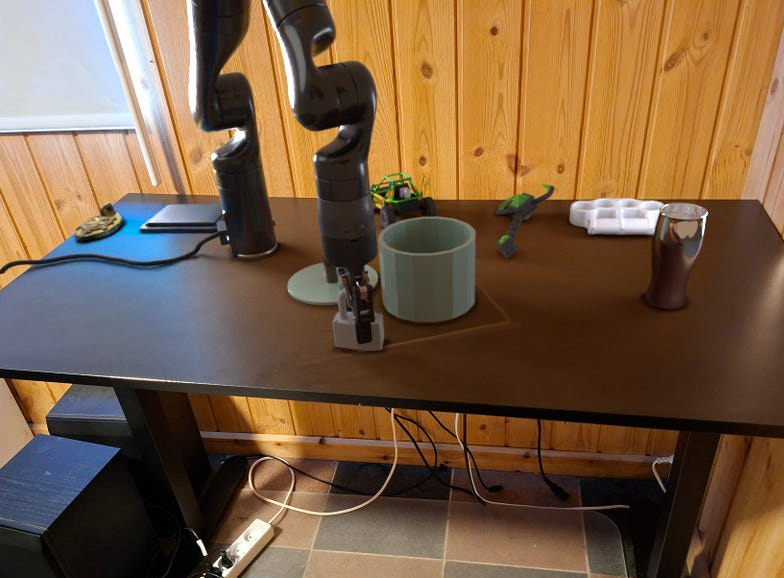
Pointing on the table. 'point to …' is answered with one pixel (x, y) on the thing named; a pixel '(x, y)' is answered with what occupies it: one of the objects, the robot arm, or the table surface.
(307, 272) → the pot lid
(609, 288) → the table surface
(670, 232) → the beer glass
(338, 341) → the padlock
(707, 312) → the table surface
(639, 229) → the white flat holed piece
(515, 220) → the war hammer
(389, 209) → the motor vehicle
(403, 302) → the pot
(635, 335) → the table surface
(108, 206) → the olive oval piece
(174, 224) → the dark grey flat block
